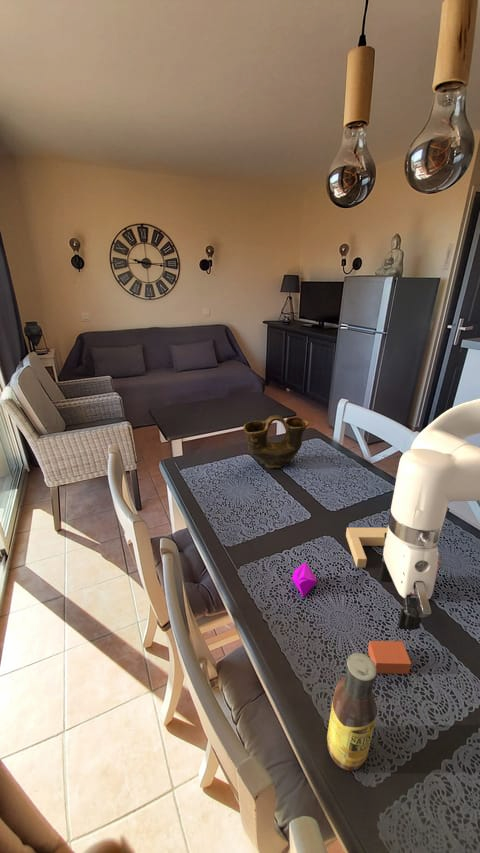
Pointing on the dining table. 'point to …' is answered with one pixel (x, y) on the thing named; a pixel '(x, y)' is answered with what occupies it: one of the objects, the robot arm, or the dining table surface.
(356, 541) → the tan u-shaped block
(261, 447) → the pottery vessel
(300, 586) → the crystal
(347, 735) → the sauce bottle
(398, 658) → the terracotta block
